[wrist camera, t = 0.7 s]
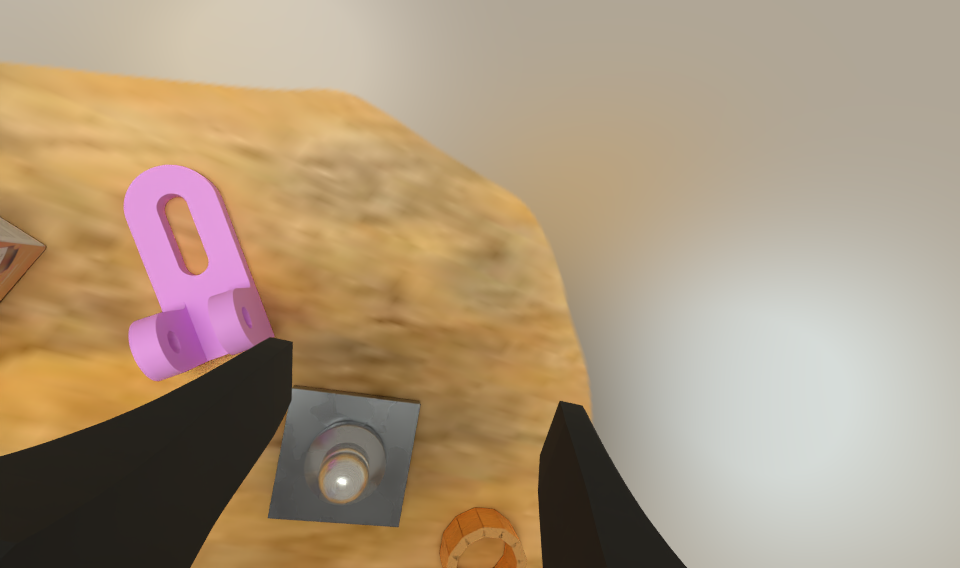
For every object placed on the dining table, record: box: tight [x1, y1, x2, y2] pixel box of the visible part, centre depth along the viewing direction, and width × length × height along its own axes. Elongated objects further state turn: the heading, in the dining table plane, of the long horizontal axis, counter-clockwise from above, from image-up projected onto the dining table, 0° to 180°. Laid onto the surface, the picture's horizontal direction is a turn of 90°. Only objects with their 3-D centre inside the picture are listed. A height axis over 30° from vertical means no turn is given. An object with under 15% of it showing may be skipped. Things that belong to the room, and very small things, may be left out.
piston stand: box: [268, 385, 420, 527], centre depth 32 cm, size 9×9×6 cm
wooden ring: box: [440, 508, 527, 568], centre depth 36 cm, size 6×6×3 cm
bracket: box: [124, 165, 275, 381], centre depth 29 cm, size 13×6×7 cm, turn 20°
